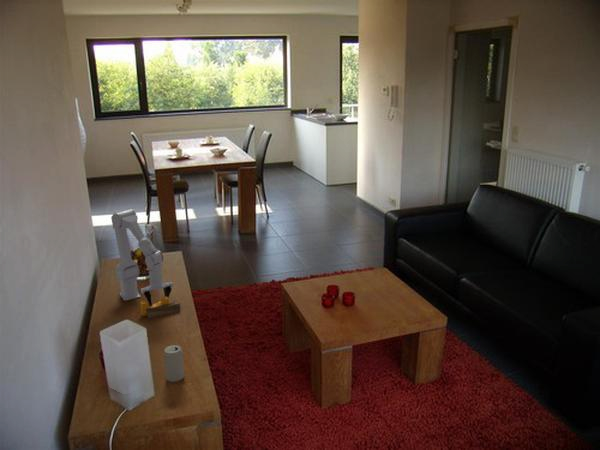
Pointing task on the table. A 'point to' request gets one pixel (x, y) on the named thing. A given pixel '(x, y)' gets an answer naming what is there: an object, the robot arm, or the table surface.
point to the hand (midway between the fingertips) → (158, 303)
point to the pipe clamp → (145, 306)
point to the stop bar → (163, 309)
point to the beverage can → (174, 363)
